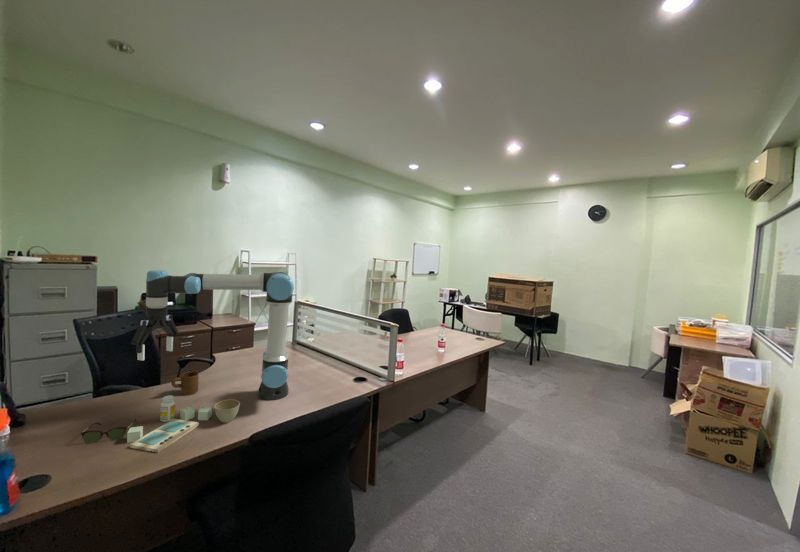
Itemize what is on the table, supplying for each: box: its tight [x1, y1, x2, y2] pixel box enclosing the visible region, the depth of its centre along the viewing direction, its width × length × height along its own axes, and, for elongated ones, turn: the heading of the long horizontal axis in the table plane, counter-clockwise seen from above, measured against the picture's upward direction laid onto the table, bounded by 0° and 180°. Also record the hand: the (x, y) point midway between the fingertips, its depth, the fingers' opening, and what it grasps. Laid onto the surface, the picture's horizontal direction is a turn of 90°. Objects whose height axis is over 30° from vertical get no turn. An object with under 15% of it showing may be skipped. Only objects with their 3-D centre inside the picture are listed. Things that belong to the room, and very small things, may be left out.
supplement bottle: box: [159, 395, 176, 423], centre depth 146 cm, size 5×5×10 cm
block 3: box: [197, 406, 213, 421], centre depth 149 cm, size 4×4×4 cm
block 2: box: [179, 406, 196, 421], centre depth 148 cm, size 4×4×4 cm
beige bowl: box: [213, 398, 241, 424], centre depth 148 cm, size 10×10×7 cm
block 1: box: [126, 425, 144, 444], centre depth 130 cm, size 4×4×4 cm
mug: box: [170, 371, 200, 396], centre depth 171 cm, size 12×8×9 cm, turn 142°
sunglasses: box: [80, 418, 137, 444], centre depth 135 cm, size 14×15×5 cm
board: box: [129, 418, 200, 453], centre depth 134 cm, size 12×20×1 cm, turn 171°
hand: (155, 355), depth 146 cm, fingers open, 13 cm apart
